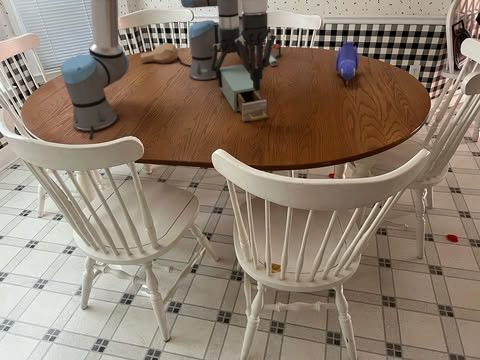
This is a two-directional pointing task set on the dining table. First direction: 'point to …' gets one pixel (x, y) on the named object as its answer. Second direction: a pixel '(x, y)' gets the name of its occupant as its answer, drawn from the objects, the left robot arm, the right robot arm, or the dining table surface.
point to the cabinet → (235, 83)
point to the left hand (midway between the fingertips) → (256, 89)
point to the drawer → (251, 106)
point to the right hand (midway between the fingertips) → (233, 84)
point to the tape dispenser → (273, 53)
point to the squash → (161, 54)
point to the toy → (347, 61)
